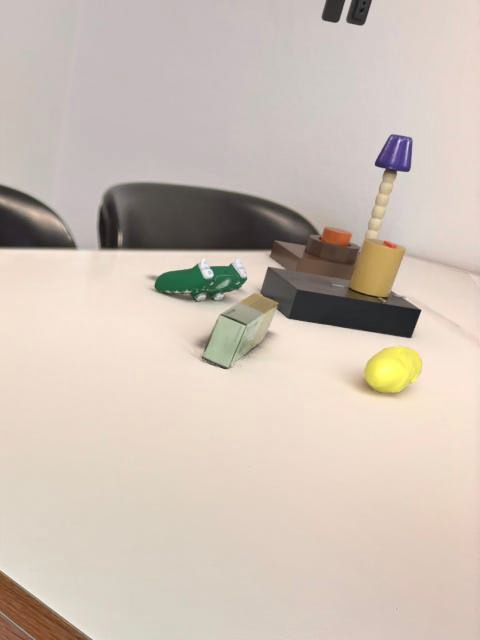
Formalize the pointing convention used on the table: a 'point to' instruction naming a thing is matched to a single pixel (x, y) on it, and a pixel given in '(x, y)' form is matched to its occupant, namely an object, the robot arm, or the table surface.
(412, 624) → the table surface
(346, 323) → the dark grey flat block
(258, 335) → the medication box
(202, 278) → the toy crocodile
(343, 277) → the switch block
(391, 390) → the lemon
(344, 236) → the power button
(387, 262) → the dimmer knob
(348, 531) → the table surface
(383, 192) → the toy lamp
